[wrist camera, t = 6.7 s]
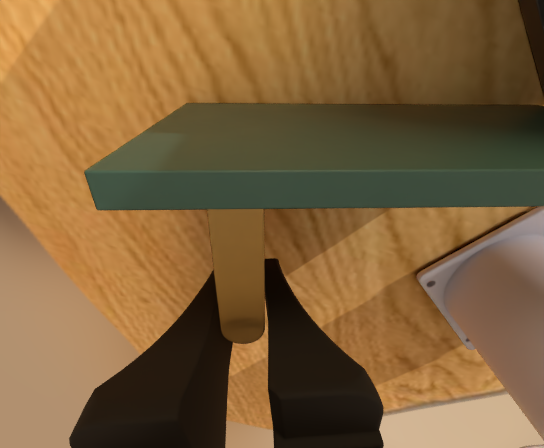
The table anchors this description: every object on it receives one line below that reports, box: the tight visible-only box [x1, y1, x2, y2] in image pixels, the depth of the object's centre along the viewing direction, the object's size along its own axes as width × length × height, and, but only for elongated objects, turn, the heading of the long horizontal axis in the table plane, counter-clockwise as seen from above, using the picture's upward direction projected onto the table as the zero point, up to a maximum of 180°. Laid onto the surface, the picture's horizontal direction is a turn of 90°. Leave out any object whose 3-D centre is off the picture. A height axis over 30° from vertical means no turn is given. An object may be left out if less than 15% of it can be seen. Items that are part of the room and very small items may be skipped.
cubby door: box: [84, 103, 544, 344], centre depth 11 cm, size 6×16×8 cm, turn 89°
